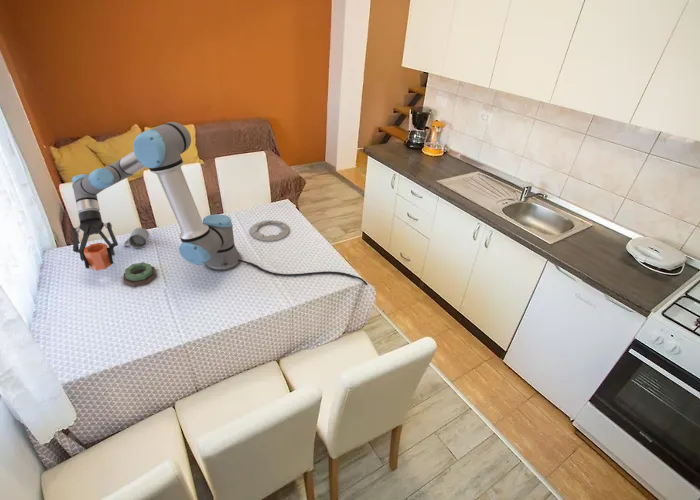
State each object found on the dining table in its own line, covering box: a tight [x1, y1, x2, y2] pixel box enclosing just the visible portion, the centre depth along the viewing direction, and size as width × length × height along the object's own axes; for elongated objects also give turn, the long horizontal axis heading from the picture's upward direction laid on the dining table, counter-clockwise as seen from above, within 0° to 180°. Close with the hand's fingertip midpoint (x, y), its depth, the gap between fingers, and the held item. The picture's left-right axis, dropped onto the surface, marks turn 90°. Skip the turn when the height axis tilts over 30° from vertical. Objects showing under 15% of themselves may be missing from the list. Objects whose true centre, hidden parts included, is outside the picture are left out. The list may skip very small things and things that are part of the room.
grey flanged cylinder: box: [124, 227, 150, 249], centre depth 180 cm, size 11×8×8 cm
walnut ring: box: [123, 266, 157, 288], centre depth 162 cm, size 12×12×2 cm
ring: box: [250, 220, 290, 242], centre depth 199 cm, size 19×19×2 cm
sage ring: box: [124, 261, 153, 281], centre depth 161 cm, size 10×10×2 cm
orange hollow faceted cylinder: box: [84, 242, 113, 271], centre depth 154 cm, size 8×8×8 cm
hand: (99, 265), depth 153 cm, fingers closed on orange hollow faceted cylinder, 8 cm apart
